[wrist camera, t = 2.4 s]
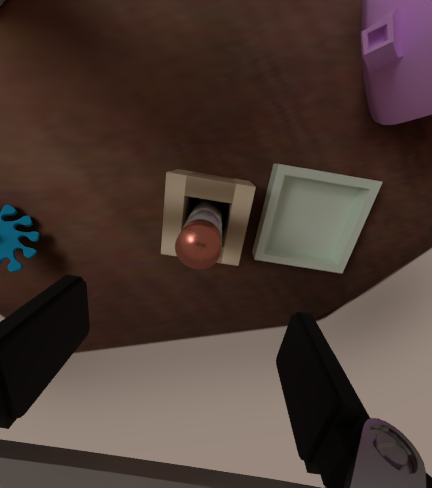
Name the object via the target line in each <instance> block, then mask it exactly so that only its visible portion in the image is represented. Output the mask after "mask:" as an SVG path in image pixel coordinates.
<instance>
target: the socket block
mask: <svg viewBox="0 0 432 488" xmlns="http://www.w3.org/2000/svg"><path fill="white" fill-rule="evenodd" d="M255 189H256V187H255V186H254V185H253V184H252V183H251V182H250V181H246V180H240V179H235V178H229V177H223V176H217V175H211V174H205V173H199V172H193V171H187V170H181V169H176V170H173V171H169V172H166V185H165V200H164V215H163V231H162V246H161V254H165V255H171V256H177V255H176V251H175V242H176V239H177V237H178V235H179V234H180V232H181V230H182V228H183V227H184V225H185V223H186V221H187V219H188V218H189V212H190V203H191V197H195V198H201V199H207V200H213V201H220V202H226V203H229V206H228V211H227V217H226V222H225V228H224V230H222V250H221V255H220V257H219V259H218V261H217V262H216V263H223V264H229V265H236V266H238V265H239V261H240V256H241V252H242V247H243V243H244V238H245V234H246V229H247V225H248V220H249V216H250V211H251V207H252V202H253V198H254V193H255Z"/></svg>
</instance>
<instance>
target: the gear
mask: <svg viewBox="0 0 432 488" xmlns="http://www.w3.org/2000/svg"><path fill="white" fill-rule="evenodd" d="M17 213H18V212H17V211H16V210H15V209H14V208H13V207H12V206H10V205H5V206H4V207H3V209H2V211H1V212H0V264H1V262H2V261H3V260H4V259H6V258H10V260H11V262H10V264H9V265H8V270H9V271H11V272H15V271H19V270H21V269H23V265H22V264H21V263H19V262H18V261H17V260H16V257H15V251H16V250H17V249H23V254H24V256H25V257H27V258H30V259H31V258H32V257H34V256H35V255H36V254H37V251H36V250H35V249H33V248H28V247H25V246H24V245H22V244H21V242H20V238H21V237H24V236H25V237H28V238H29V239H30V240H31V241H33V242H38V240H39V238H40V234H39V233H38V232H36V231H33V232H20V231H17V230H16V229H15V227H16V226H17V225H24V226H27V227H30V226H32V225H33V222H32V220H31V218H30V217H29V216H23V217H22V218H20V219H18V220H15V221H4V220H3V219H4V217H6V216H14V215H16V214H17Z"/></svg>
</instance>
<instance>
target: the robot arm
mask: <svg viewBox="0 0 432 488" xmlns="http://www.w3.org/2000/svg"><path fill="white" fill-rule="evenodd" d="M4 1H5V0H0V6H1V5H2V4H3V2H4ZM89 329H90V325H89V312H88V299H87V286H86V282H85V281H83V278H82V277H79V276H72V275H66V276H64V277H62V278H61V279H60V280H58V281H57V282H56V283H54V284H53V285H51V286H50V287H49V288H47V289H46V290H44V291H43V292H42V293H40V294H39V295H37V296H36V297H35V298H33V299H32V300H30V301H29V302H28V303H26V304H25V305H23V306H22V307H21V308H19V309H18V310H16V311H15V312H14V313H12V314H11V315H9V316H8V317H7V318H5V319H4V320H2V321H1V322H0V428H6V429H9V428H10V426H11V425H12V424H13V422H14V421H15V420H16V419H17V418H20V417H22V416H23V415H24V414H25V413H26V412H27V410H28V409H29V408H30V407H31V405H32V404H33V403H34V402H35V401H36V399H37V398H38V397H39V396H40V394H41V393H42V392H43V390H44V389H45V388H46V387H47V385H48V384H49V383H50V382H51V380H52V379H53V378H54V376H55V375H56V374H57V373H58V372H59V370H60V369H61V368H62V367H63V365H64V364H65V363H66V362H67V360H68V359H69V358H70V356H71V355H72V354H73V353H74V351H75V350H76V349H77V348H78V346H79V345H80V344H81V343H82V341H83V340H84V339H85V338H86V336H87V335H88V332H89ZM276 365H277V369H278V373H279V377H280V381H281V385H282V390H283V394H284V398H285V402H286V406H287V410H288V414H289V418H290V422H291V426H292V430H293V434H294V438H295V442H296V446H297V450H298V454H299V457H300V458H301V460H304V462H305V465H306V470H307V472H308V473H313V474H320V475H321V478H322V481H323V484H324V486H325V488H432V477H430V476H429V475H428V474H427V473H426V471H425V467H424V463H423V460H422V459H421V456H420V454H419V453H418V451H417V450H416V448H415V447H414V445H413V444H412V443H411V442H410V441H409V440H408V439H407V438H406V437H405V435H404V434H403V433H401V432H400V431H399V430H398V429H396V428H395V427H394V426H392V425H391V424H389V423H387V422H386V421H383V420H380V419H376V418H370V417H369V415H368V414H367V412H366V410H365V408H364V407H363V405H362V403H361V401H360V399H359V398H358V396H357V394H356V393H355V390H354V388H353V387H352V385H351V384H350V381H349V380H348V378H347V376H346V374H345V372H344V371H343V369H342V367H341V365H340V363H339V362H338V360H337V358H336V356H335V354H334V353H333V351H332V350H331V348H330V346H329V344H328V343H327V341H326V339H325V337H324V335H323V334H322V332H321V330H320V328H319V326H318V325H317V323H316V321H315V319H314V317H313V316H312V314H310V313H304V312H297V313H296V314H293V315H292V316H291V319H290V321H289V324H288V327H287V330H286V333H285V335H284V338H283V341H282V344H281V347H280V349H279V352H278V355H277V359H276ZM0 488H320V487H315V486H309V485H303V484H297V483H291V482H286V481H280V480H274V479H268V478H262V477H255V476H249V475H242V474H235V473H229V472H222V471H216V470H209V469H203V468H196V467H190V466H183V465H175V464H169V463H162V462H155V461H148V460H142V459H135V458H127V457H121V456H114V455H107V454H101V453H94V452H87V451H79V450H72V449H64V448H58V447H50V446H44V445H36V444H29V443H21V442H15V441H7V440H0Z"/></svg>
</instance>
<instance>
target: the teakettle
mask: <svg viewBox="0 0 432 488" xmlns="http://www.w3.org/2000/svg"><path fill="white" fill-rule="evenodd" d="M360 35H361V64H362V73H363V80H364V86H365V92H366V98H367V104H368V108H369V112H370V115H371V117H372V119H373V120H374V121H375V122H376V123H379V124H382V125H394V124H399V123H403V122H407V121H411V120H414V119H418V118H421V117H425V116H429V115H432V0H362V5H361V33H360Z"/></svg>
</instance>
